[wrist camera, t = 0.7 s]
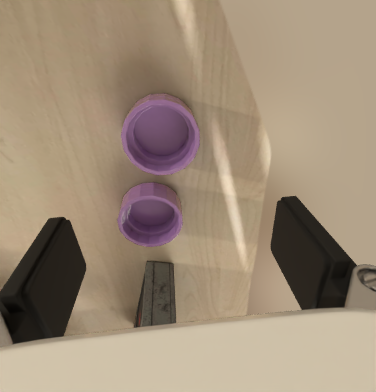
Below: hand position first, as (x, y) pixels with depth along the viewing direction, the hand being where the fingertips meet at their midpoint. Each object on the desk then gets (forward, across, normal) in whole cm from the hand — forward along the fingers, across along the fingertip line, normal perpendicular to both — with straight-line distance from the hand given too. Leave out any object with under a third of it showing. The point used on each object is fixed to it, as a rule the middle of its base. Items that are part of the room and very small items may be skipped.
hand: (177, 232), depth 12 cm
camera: (+16, +5, +26) cm, 31 cm away
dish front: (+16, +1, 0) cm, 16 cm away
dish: (+16, +3, +9) cm, 18 cm away
